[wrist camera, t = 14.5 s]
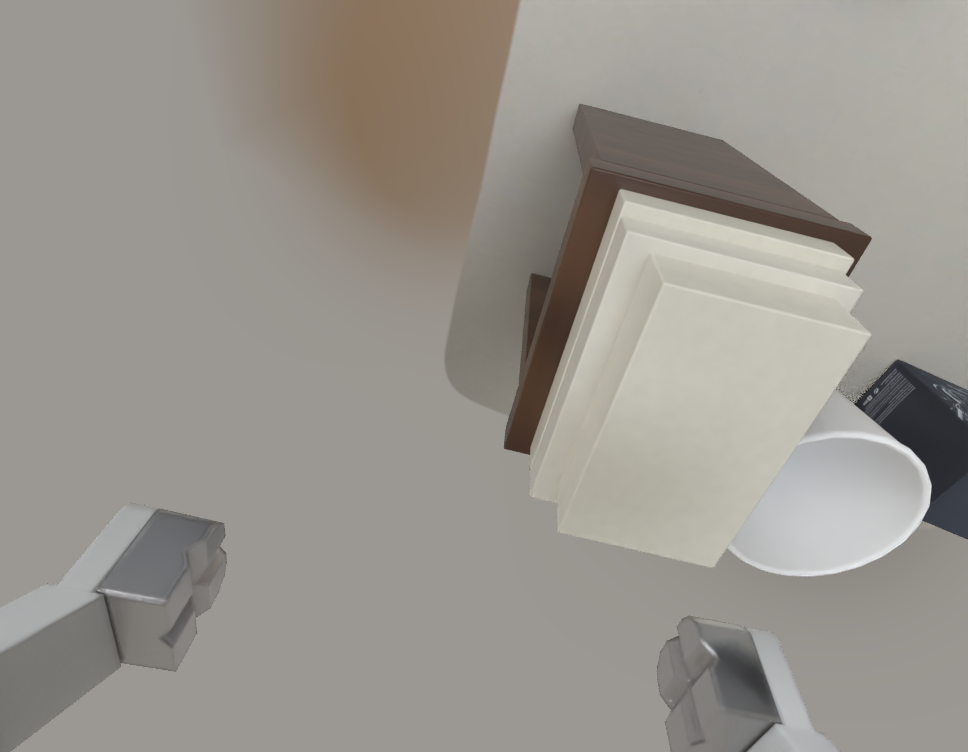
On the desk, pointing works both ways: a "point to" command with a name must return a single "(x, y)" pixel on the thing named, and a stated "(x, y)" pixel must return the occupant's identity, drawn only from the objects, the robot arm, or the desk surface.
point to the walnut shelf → (657, 173)
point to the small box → (928, 435)
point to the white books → (615, 277)
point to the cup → (836, 498)
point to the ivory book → (700, 408)
